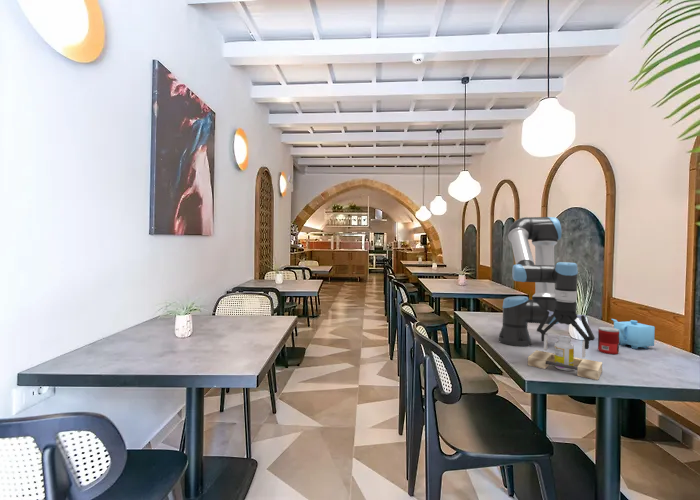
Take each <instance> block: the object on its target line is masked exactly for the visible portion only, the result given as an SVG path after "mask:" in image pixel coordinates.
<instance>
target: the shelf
mask: <svg viewBox="0 0 700 500" xmlns="http://www.w3.org/2000/svg"><path fill="white" fill-rule="evenodd" d="M527 366H528V367H534V368H538V369H539V368H540V369H544V370H546V369H547V368H548V367H549V366H554V367H555V366H559V367H564V368H569V369H573V370H575V371H577V372H576V373H577V377H582V378H585V379H592V380H594V381H595V380H596V381H598V380H599V379H600V377H601V375H602V373H603V361H596V360H592V359H587V358H582V357H575V356H574V366H570V365H565V364H560V363H555V352H554V353H553V352H548V351H544V350H542V351H541V350H537V349H536V350H534V351H533V352H532V353H531V354H530V355H528V356H527Z"/></svg>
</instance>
